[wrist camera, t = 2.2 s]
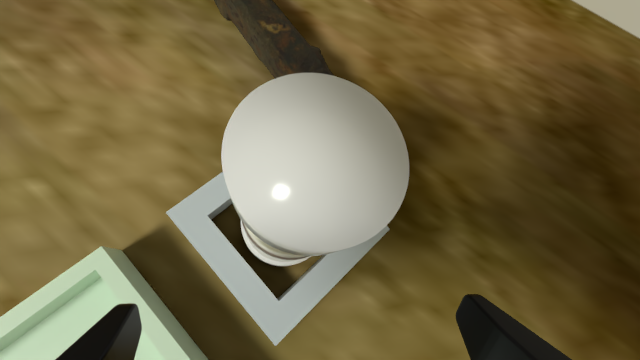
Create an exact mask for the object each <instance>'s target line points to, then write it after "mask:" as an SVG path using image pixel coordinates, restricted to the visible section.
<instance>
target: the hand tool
mask: <svg viewBox="0 0 640 360" xmlns="http://www.w3.org/2000/svg"><path fill="white" fill-rule="evenodd" d="M214 1H215V3H216V5H217V7H218V9H219V10H220V13H221V14H222V15H223V17H224V18H225V19H227V20H232V22H233V23H234V24H235V25H236V27H237V28H238V30H239V31H240V32H241V34H242V35H243V37H244V38H245V39H246V41H247V42H248V43H249V45H250V46H251V47H252V48H253V50H254V52H255V54H256V55H257V57H258V58H259V59H260V61H262V62H263V63H264V65H265V66H266V67H267V68H268V70H269V71H270V72H271V74H272V75H273V76H274V78H275V79H276V78H278V77H281V76H285V75H289V74H296V73H321V74H327V75H332V76H334V75H333V74H332V72H331V71H330V70H329V68H328V66H327V64H326V62H325V60H324V58H323V56H322V55H321V51H320V49H319V48H317V47H313V46H311V45H309V44H308V43H307V41H306V40H305V39H304V38H303V37H302V36H301V34H300V33H299V32H298V31H297V29H296V28H295V27H294V26H293V25H292V23H291V22H290V21H289V19H288V18H287V17H286V16H285V15H284V14H283V12H282V11H281V10H280V9H279V8H278V6H277V5H276V4H275V3H274V2H273V1H272V0H214Z"/></svg>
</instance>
